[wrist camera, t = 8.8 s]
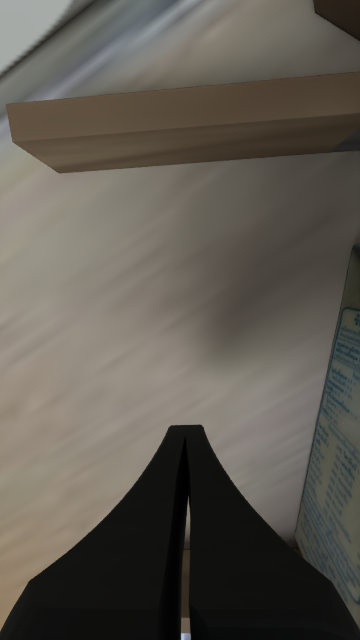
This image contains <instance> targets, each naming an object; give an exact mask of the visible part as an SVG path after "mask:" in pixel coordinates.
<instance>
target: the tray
mask: <svg viewBox="0 0 360 640" xmlns="http://www.w3.org/2000/svg"><path fill="white" fill-rule="evenodd" d="M6 108H7V113H8V119H9V125H10V130H11V136H12V142H13V143H15V144H16V145H18V146H19V147H21V148H22V149H24V150H25V151H27V152H28V153H30V154H31V155H33V156H34V157H35V158H37V159H38V160H40V161H41V162H43V163H44V164H46V165H47V166H49V167H50V168H52V169H53V170H55V171H56V172H58V173H70V172H83V171H96V170H109V169H122V168H135V167H147V166H160V165H173V164H186V163H199V162H212V161H224V160H237V159H250V158H263V157H276V156H289V155H302V154H314V153H327V152H340V151H353V150H360V72H352V73H341V74H330V75H319V76H308V77H297V78H286V79H275V80H264V81H253V82H242V83H231V84H220V85H209V86H198V87H187V88H176V89H165V90H154V91H143V92H132V93H121V94H110V95H99V96H88V97H77V98H66V99H55V100H44V101H33V102H22V103H11V104H6ZM294 550H295V551H296V552H297V553H298V554H299V555H300V556H301V557H302V554H301V552H300V549H294ZM189 568H190V550H184V551H183V564H182V603H181V633H190V618H189Z"/></svg>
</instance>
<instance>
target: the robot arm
mask: <svg viewBox="0 0 360 640" xmlns="http://www.w3.org/2000/svg"><path fill="white" fill-rule="evenodd" d="M188 496H189V507H190V568H189V618H190V633H181V603H182V564H183V551H184V539H185V528H186V516H187V505H188ZM0 640H360V629H359V627H358V625H357V624H356V622H355V620H354V618H353V616H352V615H351V613H350V611H349V609H348V608H347V606H346V604H345V602H344V601H343V599H342V598H341V596H340V594H339V593H338V591H337V589H336V588H335V586H334V584H333V583H332V582H331V581H330V580H329V579H328V578H327V577H325V576H324V575H323V574H322V573H321V572H319V571H318V570H317V569H316V568H315V567H313V566H312V565H311V564H310V563H309V562H307V561H306V560H305V559H304V558H303V557H301V556H300V555H299V554H298V553H297V552H296V551H295V550H294V549H293V548H291V547H290V546H289V545H288V544H287V543H286V542H285V541H284V540H283V539H282V538H281V537H280V536H279V535H278V534H277V533H276V532H275V531H274V530H273V529H272V528H271V527H270V526H269V525H268V524H267V523H266V522H265V521H264V520H263V518H262V517H261V516H260V515H259V514H258V513H257V512H256V511H255V510H254V509H253V507H252V506H251V505H250V504H249V503H248V501H247V500H246V499H245V498H244V496H243V495H242V494H241V493H240V491H239V490H238V489H237V487H236V486H235V485H234V483H233V482H232V480H231V479H230V478H229V476H228V475H227V473H226V471H225V470H224V468H223V467H222V465H221V464H220V462H219V460H218V458H217V457H216V455H215V453H214V451H213V449H212V447H211V445H210V443H209V441H208V439H207V437H206V434H205V431H204V427H203V426H202V425H171V426H170V427H169V428H168V431H167V433H166V435H165V437H164V439H163V441H162V443H161V445H160V446H159V448H158V450H157V452H156V453H155V455H154V457H153V458H152V460H151V461H150V463H149V464H148V466H147V467H146V469H145V470H144V472H143V473H142V475H141V476H140V477H139V479H138V480H137V481H136V483H135V484H134V485H133V487H132V488H131V489H130V490H129V492H128V493H127V494H126V495H125V496H124V498H123V499H122V500H121V501H120V502H119V503H118V504H117V505H116V506H115V508H114V509H113V510H112V511H111V512H110V513H109V514H108V515H107V516H106V517H105V518H104V519H103V520H102V521H101V522H100V523H99V524H98V525H97V526H96V527H95V528H94V529H93V530H92V531H91V532H89V533H88V534H87V535H86V536H85V537H84V538H83V539H82V540H81V541H80V542H78V543H77V544H76V545H75V546H74V547H73V548H72V549H70V550H69V551H68V552H67V553H66V554H64V555H63V556H62V557H60V558H59V559H58V560H56V561H55V562H54V563H53V564H51V565H50V566H49V567H47V568H46V569H45V570H43V571H42V572H41V573H40V574H38V575H37V576H35V577H34V578H33V579H31V580H30V581H29V582H28V584H27V586H26V587H25V589H24V591H23V593H22V594H21V596H20V597H19V599H18V600H17V602H16V604H15V605H14V607H13V609H12V611H11V612H10V614H9V616H8V618H7V619H6V621H5V623H4V625H3V627H2V629H1V631H0Z"/></svg>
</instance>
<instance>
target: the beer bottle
mask: <svg viewBox="0 0 360 640" xmlns="http://www.w3.org/2000/svg"><path fill="white" fill-rule="evenodd" d="M313 2H314V8H315V13H316V14H318V15H320V16H321V17H323V18H324V19H326V20H328V21H329V22H331V23H332V24H334V25H335V26H337V27H339V28H340V29H342V30H343V31H345V32H347V33H348V34H350V35H351V36H353V37H354V38H356V39H358V40H359V41H360V0H313Z"/></svg>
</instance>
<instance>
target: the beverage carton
mask: <svg viewBox="0 0 360 640" xmlns="http://www.w3.org/2000/svg"><path fill="white" fill-rule="evenodd" d="M295 539H296V542H297V544H298V547H299V549H300V552H301V554H302V557H303V558H304V559H305V560H306V561H307V562H309V563H310V564H311V565H312V566H313V567H315V568H316V569H317V570H318V571H319V572H321V573H322V574H323V575H324V576H325V577H327V578H328V579H329V580H330V581H331V582H332V583H333V584H334V586H335V588H336V589H337V591H338V593H339V594H340V596H341V598H342V599H343V601H344V602H345V604H346V606H347V608H348V609H349V611H350V613H351V615H352V616H353V618H354V620H355V622H356V624H357V625H358V627H359V629H360V243H359V244H356V245H354V247H353V249H352V255H351V259H350V264H349V268H348V273H347V278H346V284H345V289H344V294H343V299H342V304H341V309H340V314H339V318H338V323H337V327H336V332H335V336H334V341H333V345H332V351H331V356H330V362H329V367H328V372H327V377H326V382H325V387H324V392H323V397H322V402H321V406H320V411H319V415H318V421H317V426H316V431H315V436H314V442H313V447H312V451H311V456H310V462H309V467H308V472H307V477H306V482H305V487H304V492H303V498H302V503H301V508H300V513H299V518H298V523H297V529H296V533H295Z"/></svg>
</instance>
